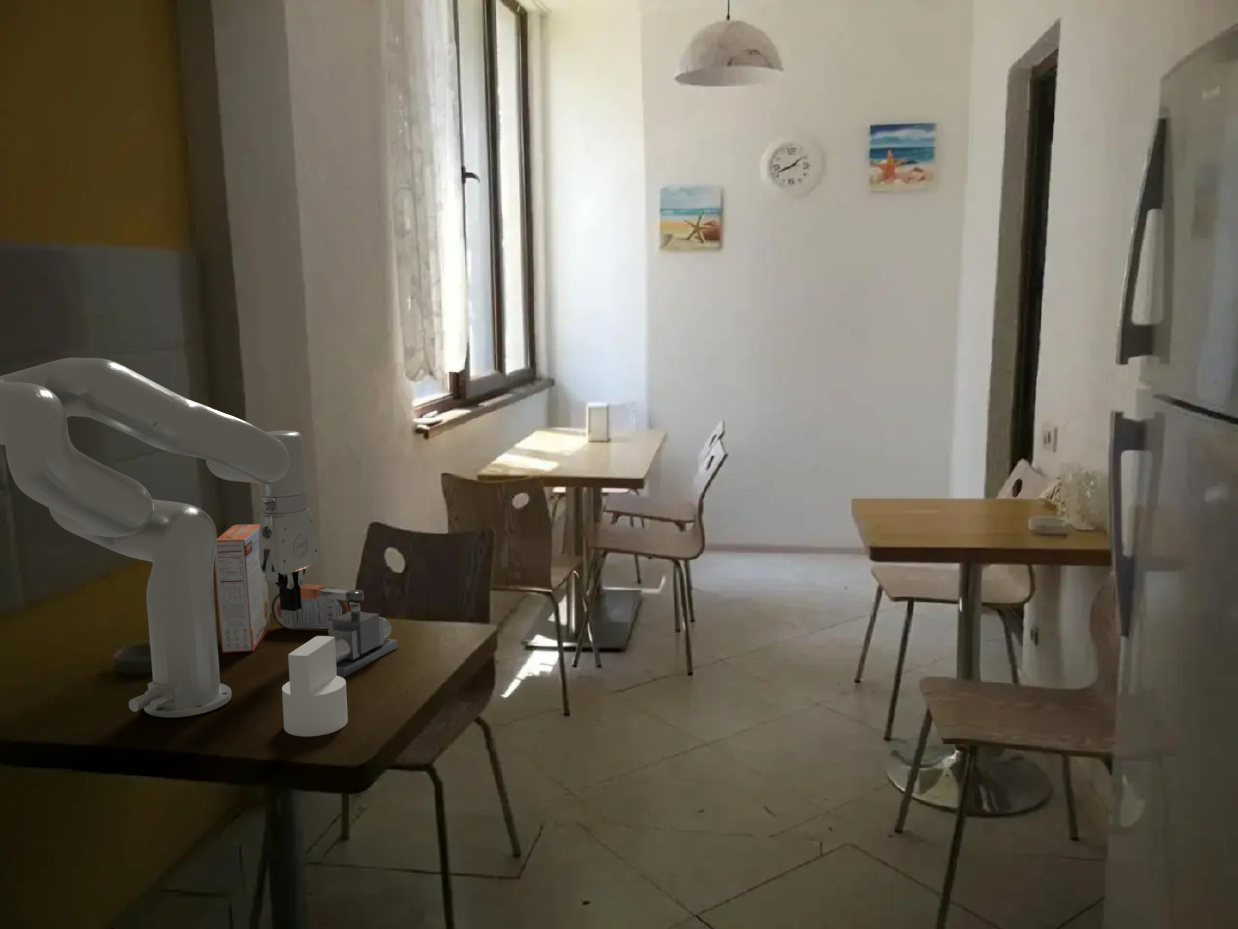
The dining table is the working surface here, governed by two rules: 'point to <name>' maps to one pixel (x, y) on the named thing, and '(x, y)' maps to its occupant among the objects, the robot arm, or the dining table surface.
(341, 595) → the lever
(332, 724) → the base with upright slab
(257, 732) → the dining table surface
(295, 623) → the tin
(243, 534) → the cracker box
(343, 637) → the valve body
